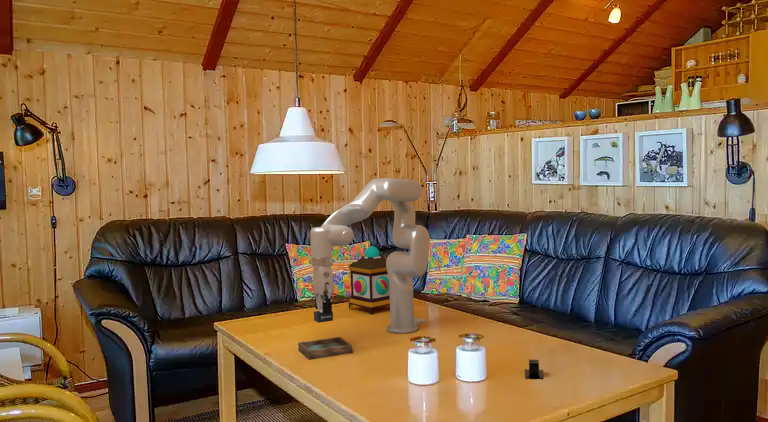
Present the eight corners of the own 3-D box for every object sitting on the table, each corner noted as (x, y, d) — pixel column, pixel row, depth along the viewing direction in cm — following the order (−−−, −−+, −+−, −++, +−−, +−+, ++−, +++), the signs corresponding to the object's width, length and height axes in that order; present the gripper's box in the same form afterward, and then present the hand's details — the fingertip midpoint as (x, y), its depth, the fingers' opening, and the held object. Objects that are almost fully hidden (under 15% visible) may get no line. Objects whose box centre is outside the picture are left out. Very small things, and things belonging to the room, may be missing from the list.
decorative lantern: (377, 303, 296) (375, 242, 294) (404, 309, 280) (402, 245, 279) (344, 309, 283) (342, 246, 281) (370, 316, 268) (368, 249, 266)
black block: (522, 369, 189) (522, 354, 189) (546, 370, 187) (546, 355, 187) (522, 382, 177) (521, 367, 177) (547, 383, 175) (547, 368, 175)
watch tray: (340, 344, 223) (340, 336, 223) (352, 352, 211) (352, 345, 211) (298, 350, 217) (298, 342, 216) (308, 359, 205) (308, 351, 205)
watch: (320, 323, 208) (319, 292, 208) (312, 319, 215) (311, 289, 215) (335, 321, 211) (334, 290, 210) (326, 317, 218) (325, 287, 217)
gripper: (340, 263, 206) (341, 314, 206) (324, 258, 222) (326, 305, 222) (319, 265, 203) (320, 316, 204) (304, 260, 219) (306, 307, 219)
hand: (323, 310), depth 213 cm, fingers closed on watch, 8 cm apart
